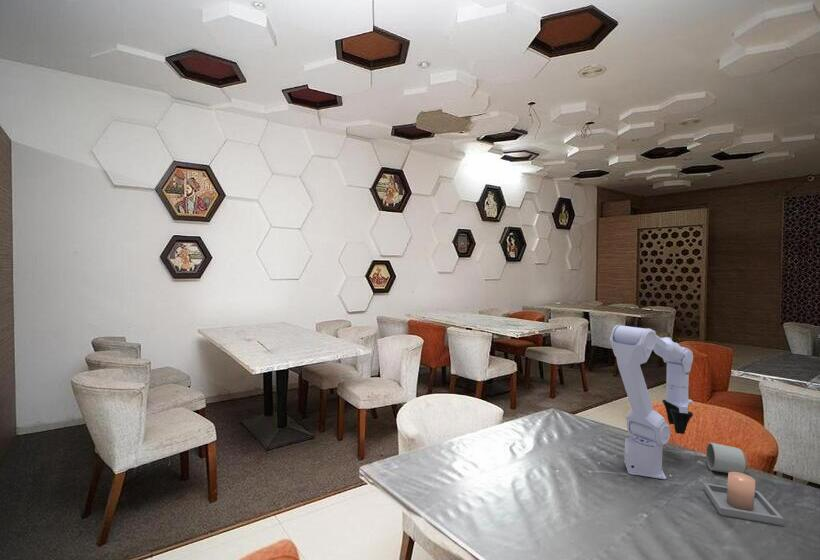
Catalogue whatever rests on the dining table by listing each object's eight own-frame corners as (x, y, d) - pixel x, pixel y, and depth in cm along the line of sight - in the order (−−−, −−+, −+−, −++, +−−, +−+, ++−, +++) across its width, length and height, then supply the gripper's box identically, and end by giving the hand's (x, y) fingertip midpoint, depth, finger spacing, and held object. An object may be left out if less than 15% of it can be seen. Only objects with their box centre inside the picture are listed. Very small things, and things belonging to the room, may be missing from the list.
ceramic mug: (749, 480, 113) (749, 452, 113) (714, 475, 115) (714, 448, 115) (733, 463, 123) (733, 438, 123) (701, 459, 125) (701, 434, 125)
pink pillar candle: (731, 508, 99) (732, 480, 98) (723, 496, 104) (724, 470, 103) (757, 513, 97) (759, 484, 96) (748, 501, 102) (750, 474, 101)
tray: (720, 515, 97) (720, 508, 97) (703, 489, 108) (703, 482, 108) (783, 526, 93) (783, 518, 92) (758, 498, 104) (758, 491, 104)
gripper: (700, 393, 117) (699, 439, 117) (685, 380, 130) (684, 421, 131) (672, 390, 119) (671, 436, 119) (660, 378, 133) (659, 418, 133)
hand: (676, 428), depth 125 cm, fingers open, 7 cm apart
